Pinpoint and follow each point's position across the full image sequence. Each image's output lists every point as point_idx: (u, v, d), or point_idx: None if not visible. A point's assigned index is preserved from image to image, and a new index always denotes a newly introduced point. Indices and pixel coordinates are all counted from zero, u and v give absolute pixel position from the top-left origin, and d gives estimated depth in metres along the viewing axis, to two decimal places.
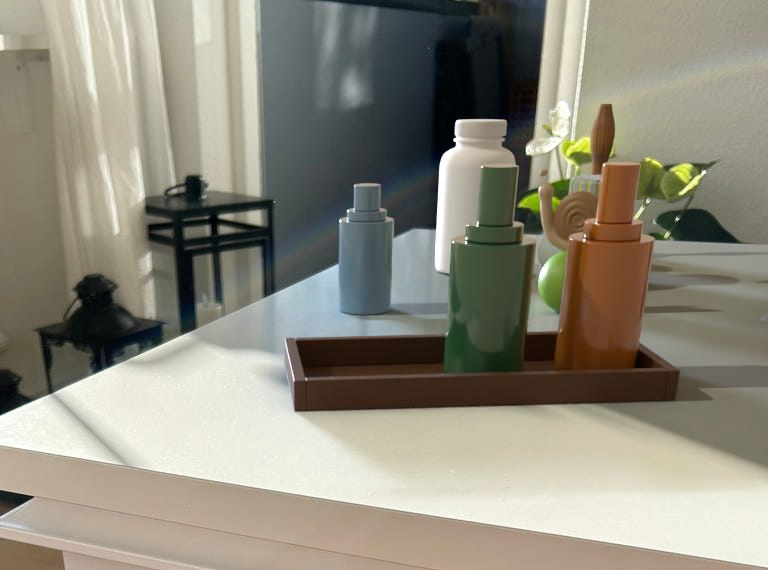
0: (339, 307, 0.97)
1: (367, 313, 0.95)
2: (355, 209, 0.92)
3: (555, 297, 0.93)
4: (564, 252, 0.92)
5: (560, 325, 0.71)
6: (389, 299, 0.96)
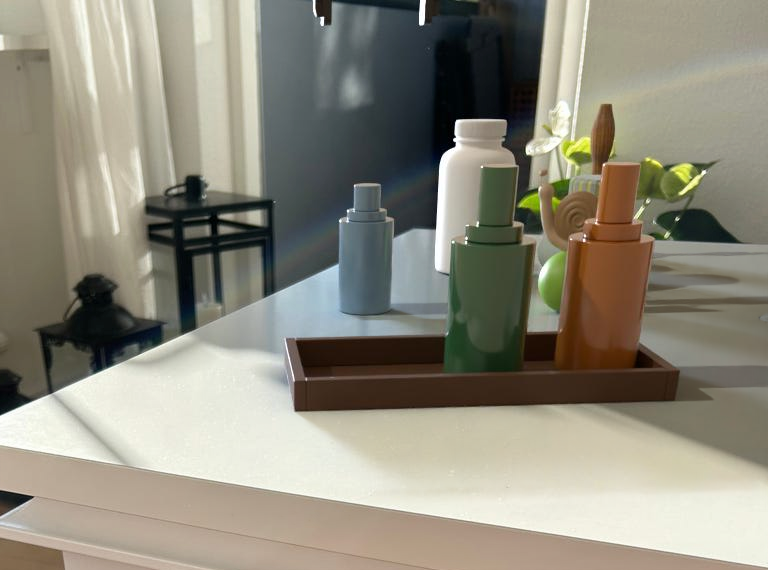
0: (339, 307, 0.97)
1: (367, 313, 0.95)
2: (355, 209, 0.92)
3: (555, 297, 0.93)
4: (564, 252, 0.92)
5: (560, 325, 0.71)
6: (389, 299, 0.96)
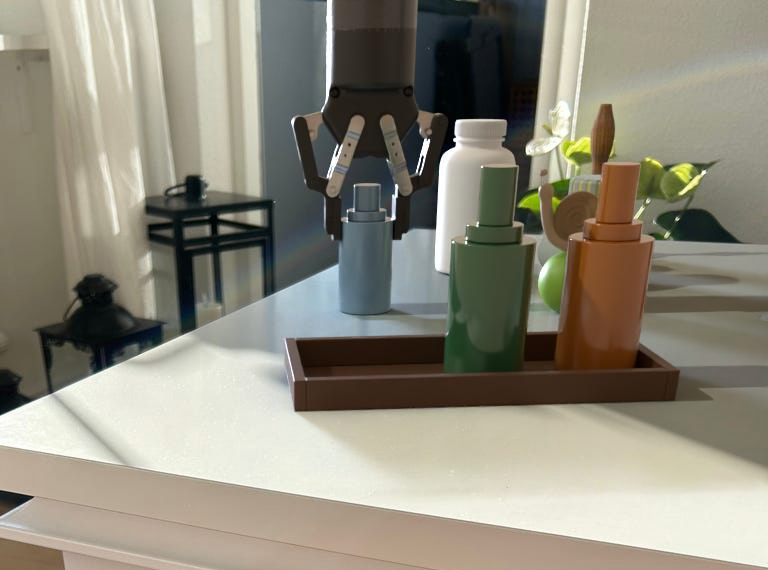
0: (339, 307, 0.97)
1: (367, 313, 0.95)
2: (355, 209, 0.92)
3: (555, 297, 0.93)
4: (564, 252, 0.92)
5: (560, 325, 0.71)
6: (389, 299, 0.96)
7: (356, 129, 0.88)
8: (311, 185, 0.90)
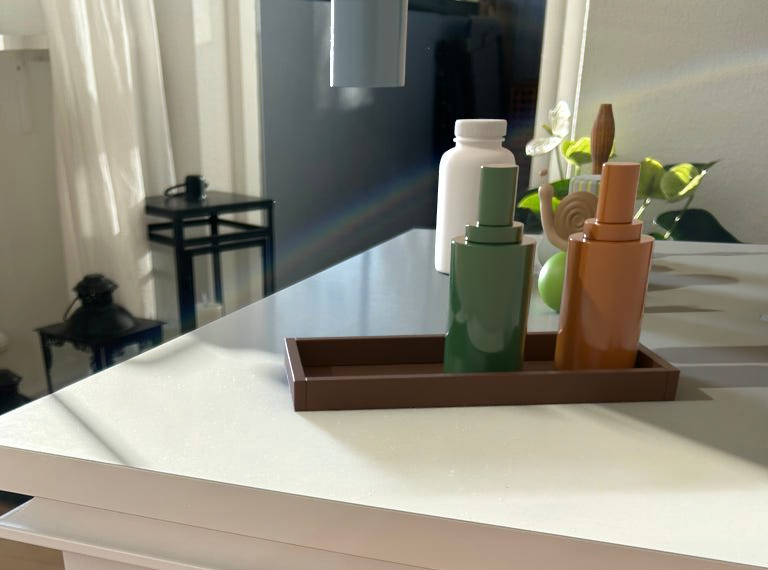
0: (332, 81, 0.68)
1: (371, 84, 0.67)
2: None
3: (555, 297, 0.93)
4: (564, 252, 0.92)
5: (560, 325, 0.71)
6: (403, 68, 0.68)
7: None
8: None
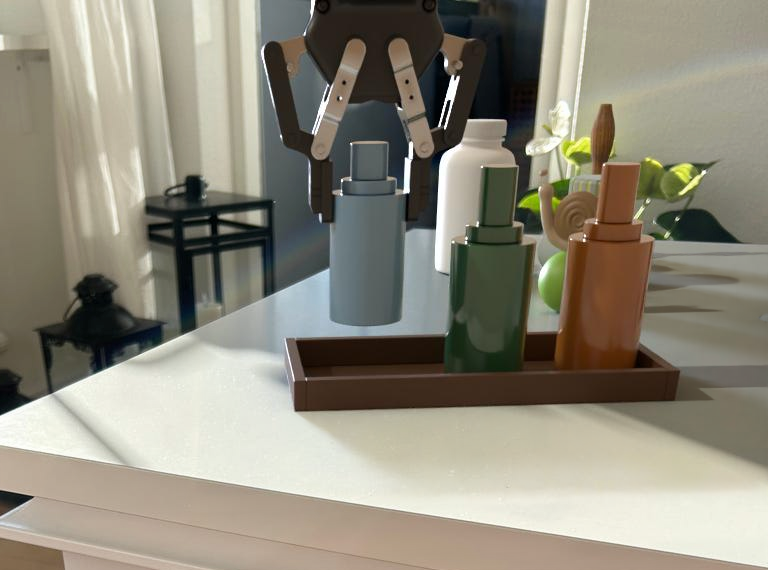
0: (330, 316, 0.70)
1: (369, 324, 0.68)
2: (352, 177, 0.65)
3: (555, 297, 0.93)
4: (564, 252, 0.92)
5: (560, 325, 0.71)
6: (401, 305, 0.69)
7: (354, 59, 0.61)
8: (289, 142, 0.63)
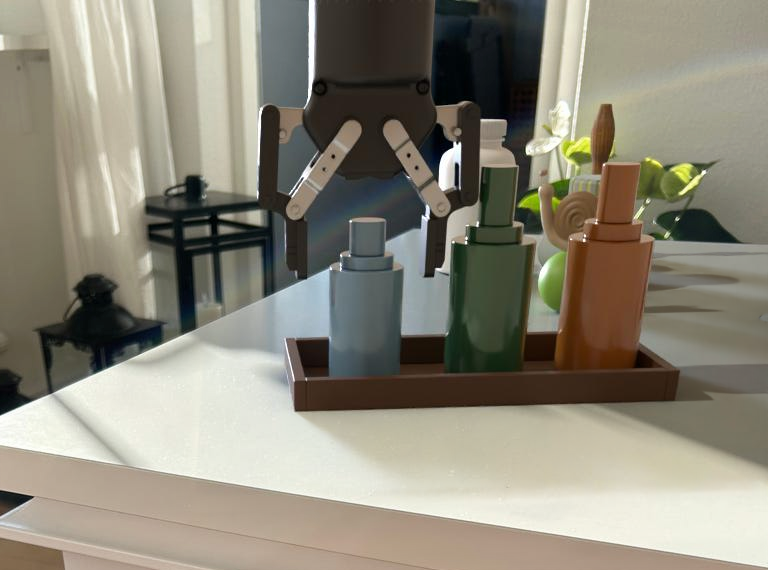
0: None
1: None
2: (351, 253, 0.68)
3: (555, 297, 0.93)
4: (564, 252, 0.92)
5: (560, 325, 0.71)
6: (397, 373, 0.71)
7: (350, 140, 0.63)
8: (265, 203, 0.65)
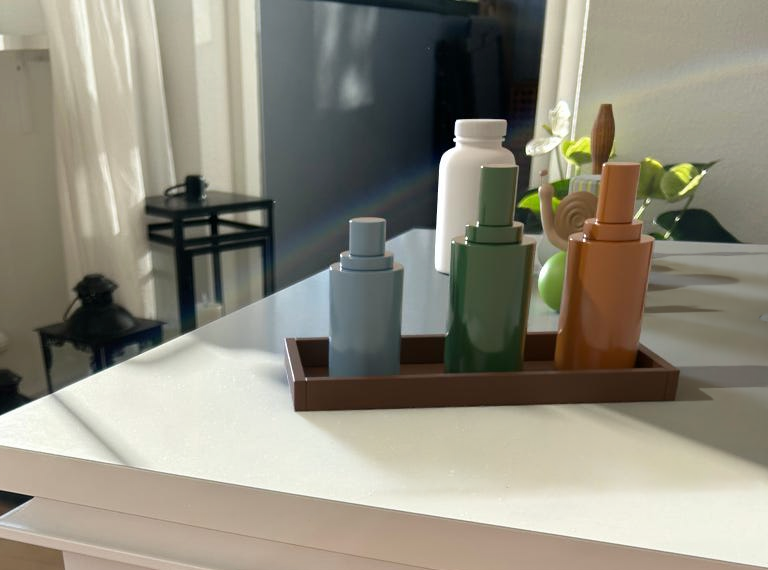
0: None
1: None
2: (351, 253, 0.68)
3: (555, 297, 0.93)
4: (564, 252, 0.92)
5: (560, 325, 0.71)
6: (397, 373, 0.71)
7: None
8: None
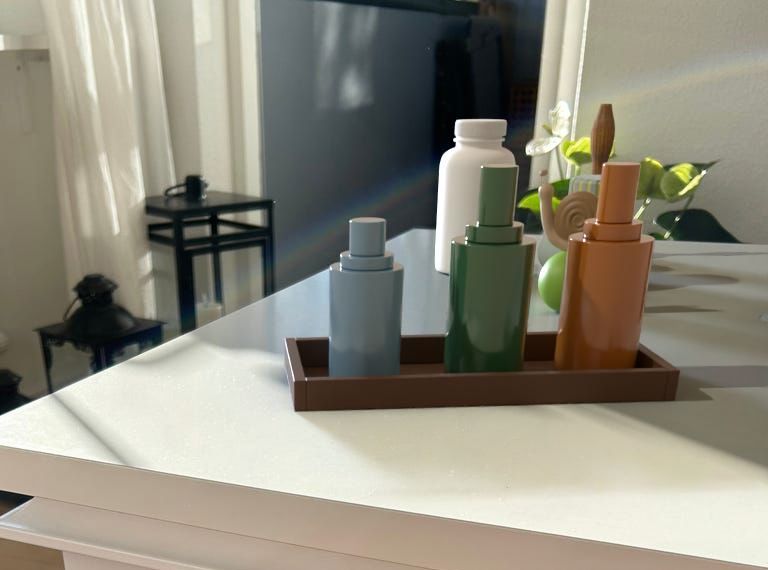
0: None
1: None
2: (351, 253, 0.68)
3: (555, 297, 0.93)
4: (564, 252, 0.92)
5: (560, 325, 0.71)
6: (397, 373, 0.71)
7: None
8: None
